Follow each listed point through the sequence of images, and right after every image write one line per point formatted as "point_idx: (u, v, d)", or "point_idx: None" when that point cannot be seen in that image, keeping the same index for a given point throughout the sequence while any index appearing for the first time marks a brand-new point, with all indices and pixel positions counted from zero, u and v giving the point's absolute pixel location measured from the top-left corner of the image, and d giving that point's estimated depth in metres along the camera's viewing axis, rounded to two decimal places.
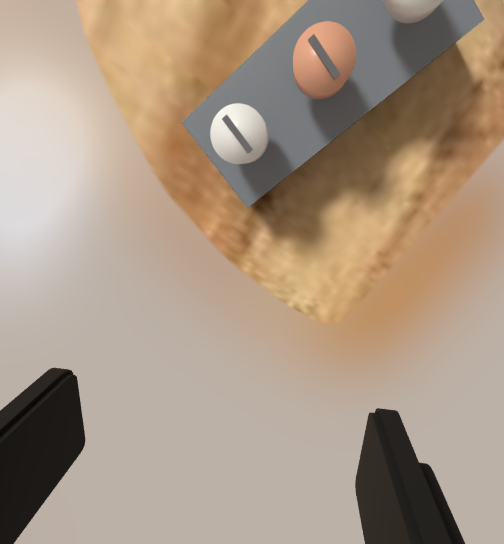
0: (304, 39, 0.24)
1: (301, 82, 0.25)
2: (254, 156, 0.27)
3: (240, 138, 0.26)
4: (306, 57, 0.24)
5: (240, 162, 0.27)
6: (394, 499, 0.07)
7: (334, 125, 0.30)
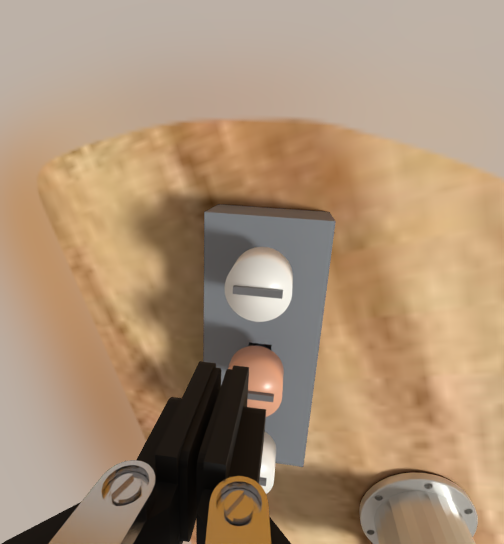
0: (277, 392, 0.24)
1: (250, 368, 0.24)
2: (226, 288, 0.22)
3: (250, 292, 0.21)
4: (263, 385, 0.24)
5: (232, 271, 0.22)
6: (208, 428, 0.09)
7: (213, 336, 0.29)
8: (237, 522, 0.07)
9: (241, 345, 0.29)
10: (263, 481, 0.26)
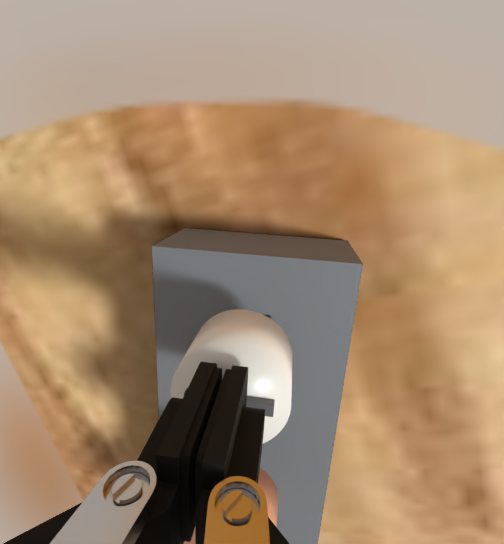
0: None
1: None
2: (173, 392, 0.12)
3: None
4: None
5: (182, 366, 0.12)
6: (207, 427, 0.09)
7: None
8: (236, 522, 0.07)
9: None
10: None
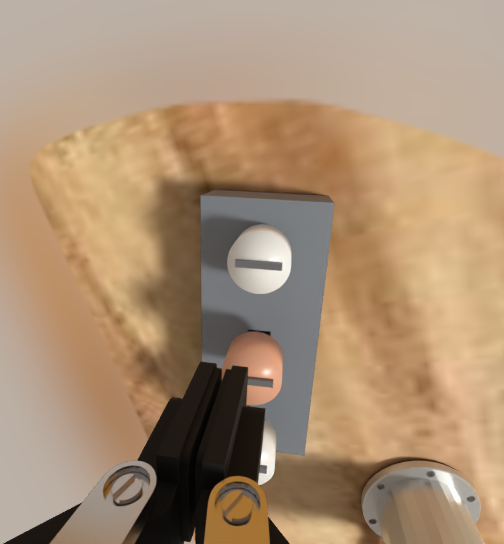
0: (276, 377, 0.23)
1: (248, 353, 0.23)
2: (228, 262, 0.23)
3: (252, 264, 0.23)
4: (262, 370, 0.23)
5: (234, 246, 0.23)
6: (207, 427, 0.09)
7: (211, 323, 0.29)
8: (235, 522, 0.07)
9: (240, 332, 0.29)
10: (263, 469, 0.26)
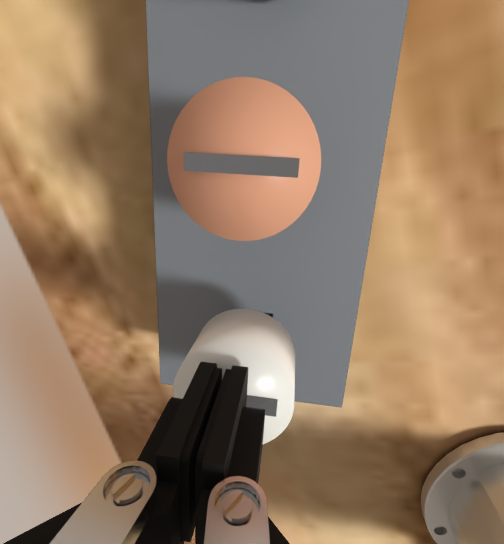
0: (308, 153, 0.09)
1: (237, 80, 0.09)
2: None
3: None
4: (272, 132, 0.09)
5: None
6: (207, 427, 0.09)
7: (170, 130, 0.15)
8: (235, 522, 0.07)
9: None
10: (270, 405, 0.12)
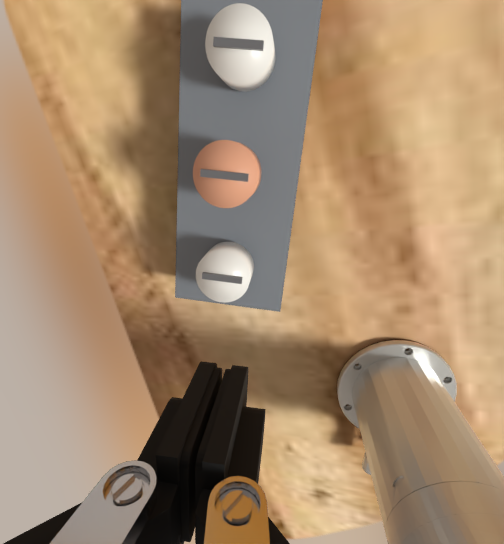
0: (252, 171, 0.22)
1: (223, 141, 0.22)
2: (207, 42, 0.22)
3: (231, 42, 0.21)
4: (237, 162, 0.22)
5: (213, 21, 0.21)
6: (207, 428, 0.09)
7: (188, 151, 0.27)
8: (235, 522, 0.07)
9: None
10: (239, 278, 0.26)
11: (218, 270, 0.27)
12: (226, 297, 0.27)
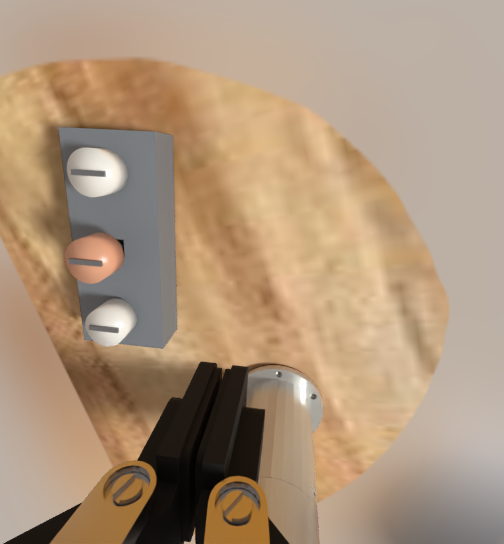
0: (104, 259, 0.31)
1: (82, 239, 0.31)
2: (68, 171, 0.31)
3: (82, 172, 0.31)
4: (93, 253, 0.31)
5: (70, 158, 0.31)
6: (207, 428, 0.09)
7: (78, 234, 0.37)
8: (235, 522, 0.07)
9: None
10: (115, 329, 0.36)
11: (101, 323, 0.36)
12: (109, 342, 0.36)
